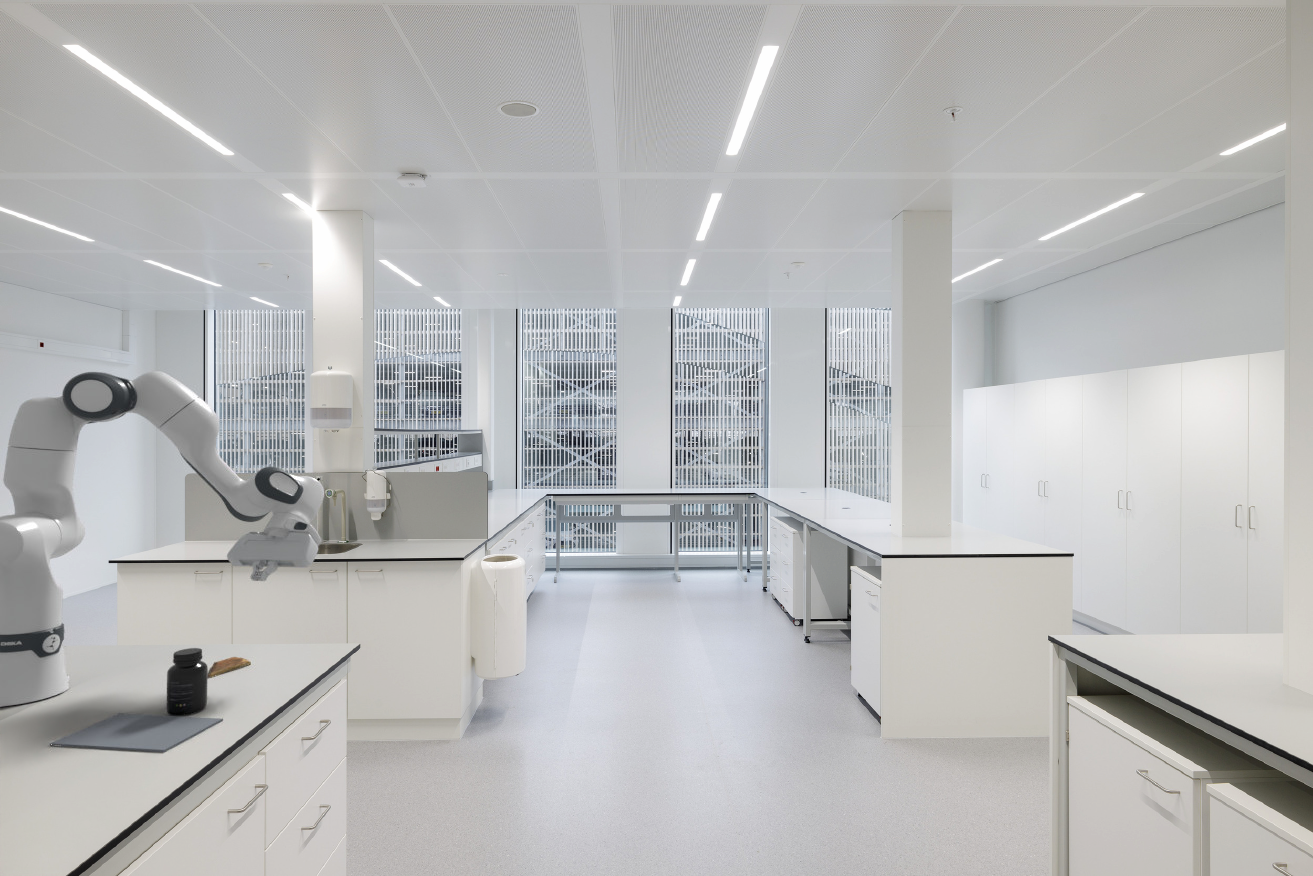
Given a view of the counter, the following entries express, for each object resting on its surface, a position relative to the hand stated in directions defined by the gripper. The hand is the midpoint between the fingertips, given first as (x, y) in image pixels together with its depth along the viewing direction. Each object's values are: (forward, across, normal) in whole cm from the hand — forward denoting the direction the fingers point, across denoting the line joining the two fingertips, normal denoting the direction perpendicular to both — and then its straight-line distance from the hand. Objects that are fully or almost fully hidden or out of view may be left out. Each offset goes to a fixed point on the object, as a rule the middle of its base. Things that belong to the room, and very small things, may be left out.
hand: (257, 579), depth 157 cm
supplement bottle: (+30, 0, +2) cm, 30 cm away
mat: (+38, 0, -6) cm, 38 cm away
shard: (+13, -10, +20) cm, 26 cm away
